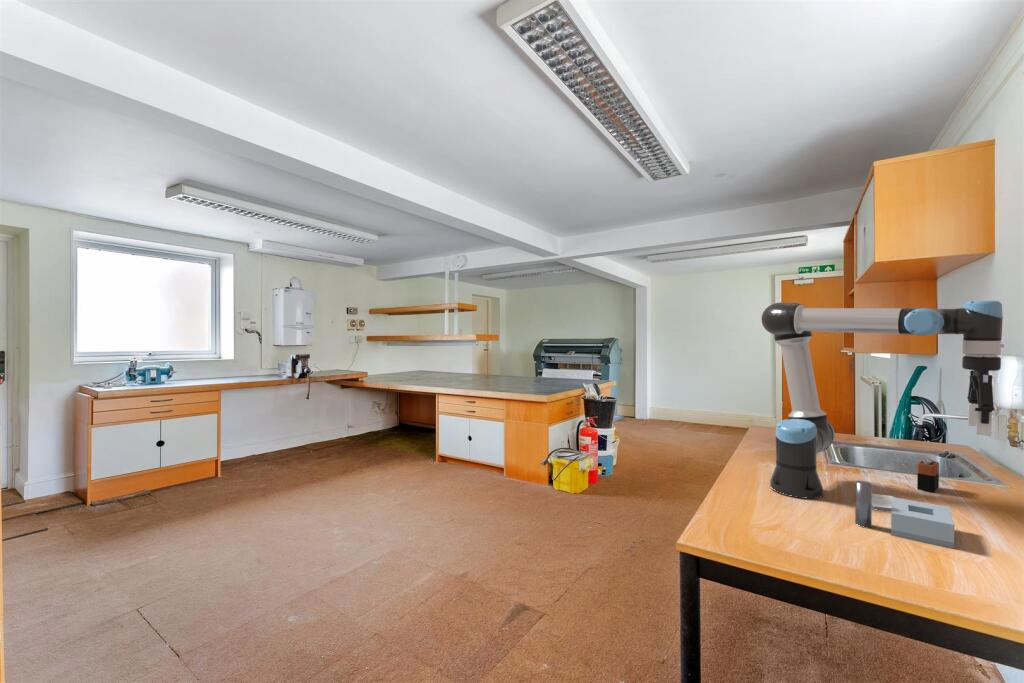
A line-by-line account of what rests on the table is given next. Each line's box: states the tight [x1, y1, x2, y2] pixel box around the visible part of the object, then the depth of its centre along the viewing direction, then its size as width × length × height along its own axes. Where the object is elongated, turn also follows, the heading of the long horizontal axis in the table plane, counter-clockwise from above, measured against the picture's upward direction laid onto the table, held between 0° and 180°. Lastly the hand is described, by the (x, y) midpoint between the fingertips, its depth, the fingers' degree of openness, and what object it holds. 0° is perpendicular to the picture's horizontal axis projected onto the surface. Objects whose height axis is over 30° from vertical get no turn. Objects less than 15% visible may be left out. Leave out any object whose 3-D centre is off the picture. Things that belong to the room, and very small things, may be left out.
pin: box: [854, 480, 873, 528], centre depth 126 cm, size 4×4×12 cm
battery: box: [916, 458, 940, 493], centre depth 152 cm, size 4×7×10 cm, turn 127°
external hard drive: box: [872, 493, 896, 512], centre depth 141 cm, size 2×8×12 cm
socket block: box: [890, 496, 955, 549], centre depth 122 cm, size 12×14×6 cm
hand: (978, 430), depth 128 cm, fingers open, 13 cm apart
